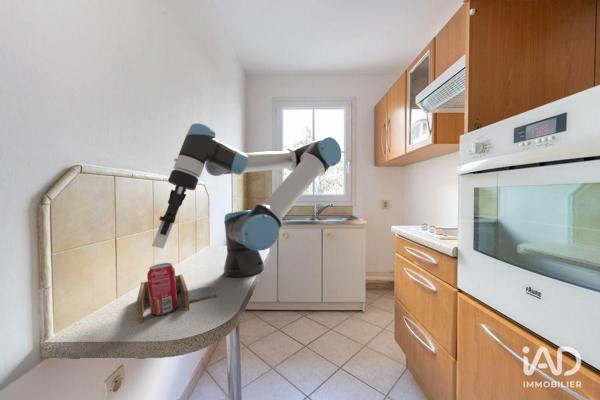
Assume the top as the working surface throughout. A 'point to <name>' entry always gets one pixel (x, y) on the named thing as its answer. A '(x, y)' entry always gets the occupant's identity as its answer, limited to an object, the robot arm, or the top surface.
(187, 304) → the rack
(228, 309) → the top surface
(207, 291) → the mat
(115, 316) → the top surface
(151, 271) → the beverage can
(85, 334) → the top surface
